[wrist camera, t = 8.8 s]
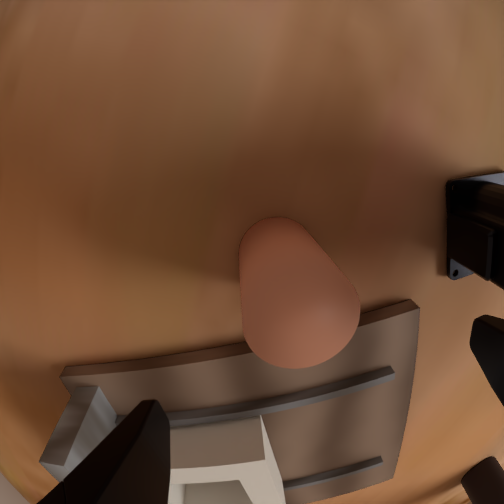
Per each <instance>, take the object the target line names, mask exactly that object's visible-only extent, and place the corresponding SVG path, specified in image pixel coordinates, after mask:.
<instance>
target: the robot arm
mask: <svg viewBox="0 0 504 504" xmlns="http://www.w3.org/2000/svg"><path fill="white" fill-rule="evenodd" d="M453 185H454V190H452V187H453ZM445 189H446V207H447V276H448V277H449V278H450V279H452V280H457V279H459V278H462V277H465V276H468V275H471V274H473V273H475V274H477V275H478V276H480V277H481V278H483V279H484V280H486V281H491V282H493V283H494V284H496V285H497V286H499V287H500V288H502V289H503V290H504V171H503V172H496V173H489V174H482V175H476V176H469V177H463V178H457V179H451V180H449V181H448V182H447V183H446V188H445ZM454 270H455V272H454ZM453 272H454V273H453ZM470 348H471V350H472V352H473V354H474V355H475V357H476V359H477V361H478V363H479V365H480V366H481V368H482V370H483V372H484V374H485V376H486V378H487V380H488V382H489V384H490V385H491V387H492V389H493V390H494V392H495V394H496V395H497V397H498V398H499V400H500V401H501V403H502V405H503V406H504V319H501V318H497V317H494V316H490V315H482V316H480V317H478V318H476V319H475V320H474V322H473V326H472V331H471V337H470ZM170 474H171V458H170V422H169V419H168V417H167V415H166V413H165V412H164V410H163V408H162V406H161V404H160V403H159V401H158V400H156V399H147V400H142V401H141V402H140V403H139V404H138V405H137V406H136V407H135V408H134V409H133V410H132V411H131V412H130V413H129V414H128V415H127V416H126V417H125V418H124V419H123V420H122V421H121V422H120V423H119V424H118V425H117V426H116V427H115V428H114V429H113V430H112V431H111V432H110V433H109V434H108V435H107V436H106V437H105V438H104V439H103V440H102V441H101V442H100V443H99V444H98V445H97V446H96V447H95V448H94V449H93V450H92V451H91V452H90V453H89V454H88V455H87V456H86V457H85V458H84V459H83V460H82V461H81V462H80V463H79V464H78V465H77V466H76V467H75V468H74V469H73V470H72V471H71V472H70V473H69V474H68V475H67V476H66V477H65V478H64V479H63V481H61V482H60V483H59V484H58V485H57V486H56V487H55V488H54V489H53V490H51V491H50V492H49V493H48V494H47V495H46V496H45V497H44V498H43V499H42V500H40V501H39V502H38V503H37V504H168V496H169V486H170Z"/></svg>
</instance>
